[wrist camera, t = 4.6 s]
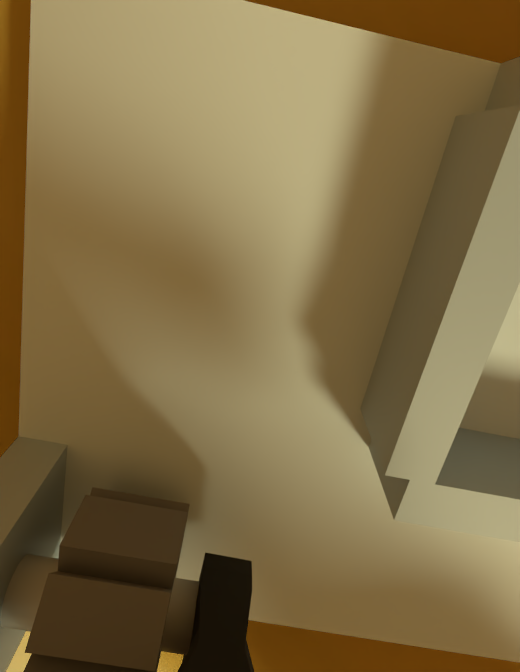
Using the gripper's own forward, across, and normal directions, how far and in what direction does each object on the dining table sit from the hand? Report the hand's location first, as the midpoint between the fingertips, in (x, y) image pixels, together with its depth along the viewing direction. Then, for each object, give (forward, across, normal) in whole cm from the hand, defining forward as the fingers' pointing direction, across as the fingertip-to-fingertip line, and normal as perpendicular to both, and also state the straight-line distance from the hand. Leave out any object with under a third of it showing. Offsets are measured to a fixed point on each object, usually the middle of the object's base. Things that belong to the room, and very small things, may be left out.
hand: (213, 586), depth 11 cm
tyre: (+1, +2, 0) cm, 2 cm away
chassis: (+3, -3, -4) cm, 6 cm away
